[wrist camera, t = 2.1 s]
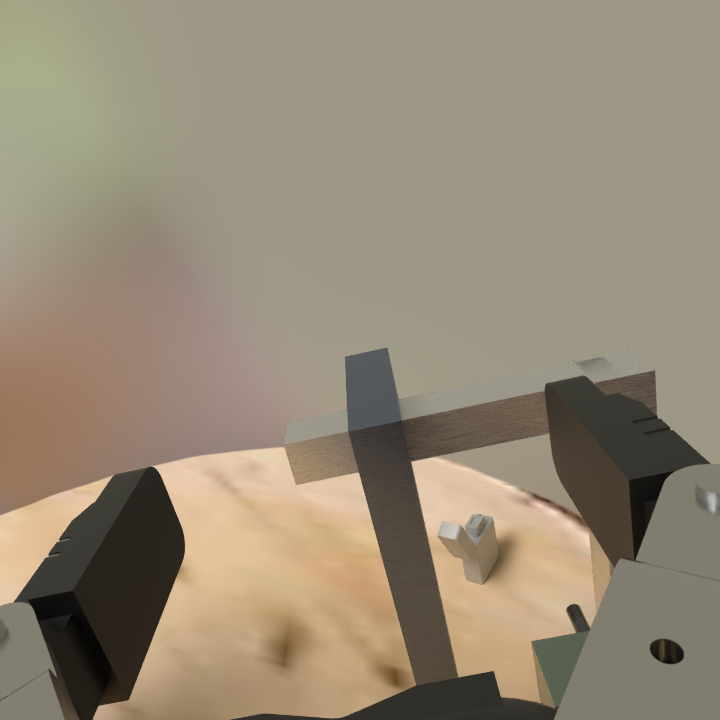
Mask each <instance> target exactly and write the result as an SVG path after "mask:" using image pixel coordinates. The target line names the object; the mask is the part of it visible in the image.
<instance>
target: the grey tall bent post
mask: <svg viewBox="0 0 720 720" xmlns="http://www.w3.org/2000/svg"><path fill="white" fill-rule="evenodd" d="M583 375H585V376H586V377H588V378H589V379H590V380H591V381H592V382H593V383H594V384H595V385H596V386H597V387H598V388H599V389H600V390H601V391H602V392H603V393H604V394H605V395H606V396H608V395H613V394H617V393H619V394H622V395H624V396H627V397H629V398H632V399H635V400H637V401H640V402H642V403H643V404H645V405H646V406H647V407H648V408H649V409H650V410H651V411H652V412H653V413H655V414H656V415H657V403H656V379H655V378H656V377H655V370H654V369H653V368H652V367H650V366H649V365H648V364H646V363H645V362H644V361H643V360H641V359H640V358H639V357H637V356H636V355H635V354H634V353H632V352H631V351H630V350H628V349H627V350H622V351H617V352H613V353H608V354H603V355H598V356H593V357H589V358H584V359H580V360H574V361H573V363H570V364H565V365H560V366H556V367H551V368H546V369H541V370H536V371H532V372H527V373H522V374H517V375H513V376H508V377H503V378H498V379H493V380H489V381H484V382H479V383H474V384H470V385H465V386H460V387H455V388H450V389H446V390H441V391H437V392H432V393H427V394H422V395H417V396H413V397H408V398H403V399H398V402H399V407H400V412H401V417H402V422H403V427H404V431H405V436H406V440H407V445H408V449H409V454H410V458H411V462H412V461H417V460H422V459H427V458H432V457H436V456H441V455H446V454H451V453H455V452H461V451H466V450H471V449H476V448H481V447H486V446H491V445H496V444H500V443H505V442H510V441H515V440H520V439H525V438H530V437H535V436H540V435H545V434H550V433H549V425H548V417H547V409H546V401H545V385H546V383H550V382H554V381H559V380H564V379H569V378H573V377H578V376H583ZM284 447H285V450H286V454H287V457H288V460H289V463H290V467H291V470H292V473H293V477H294V480H295V483H296V485H299V484H303V483H308V482H313V481H318V480H323V479H328V478H333V477H338V476H343V475H348V474H353V473H358V472H359V470H358V467H357V463H356V459H355V455H354V452H353V448H352V444H351V441H350V437H349V433H348V416H347V410H345V411H341V412H336V413H331V414H327V415H322V416H317V417H312V418H307V419H303V420H298V421H293V422H289V423H288V426H287V431H286V436H285V441H284ZM589 537H590V548H591V558H592V569H593V580H594V590H595V601H596V611H598V608H599V606H600V603H601V601H602V598H603V596H604V593H605V591H606V588H607V586H608V584H609V581H610V579H611V576H612V574H613V571H614V567H613V565H612V564H611V562H610V561H609V559H608V557H607V556H606V554H605V553H604V551H603V549H602V548H601V546H600V544H599V543H598V541H597V540H596V538H595V536H594V535H593V533H592V532H591V530H590V528H589ZM566 612H567V614H568V616H569V618H570V620H571V623H572V625H573V627H574V629H575V631H576V633H575V634H569V635H564V636H558V637H553V638H547V639H542V640H536V641H531V642H532V649H533V655H534V662H535V669H536V675H537V682H538V688H539V695H540V699H541V702H542V704H543V705H547V706H550V707H553V708H556V709H558V708H559V706H560V703H561V701H562V698H563V696H564V693H565V691H566V688H567V686H568V683H569V681H570V678H571V676H572V673H573V671H574V668H575V666H576V663H577V661H578V658H579V656H580V653H581V651H582V648H583V646H584V643H585V641H586V638H587V636H588V633H589V631H590V627H589V625H588V623H587V621H586V618H585V616H584V614H583V612H582V610H581V608H580V606H579V605H577V604H572V605H570V606H568V607H567V609H566Z"/></svg>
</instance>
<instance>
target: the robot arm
mask: <svg viewBox="0 0 720 720" xmlns="http://www.w3.org/2000/svg"><path fill="white" fill-rule="evenodd" d="M545 401H546V409H547V417H548V425H549V433H550V441H551V449H552V456H553V461H554V464H555V468H556V471H557V474H558V476H559V479H560V481H561V483H562V485H563V486H564V488H565V489H566V491H567V493H568V494H569V496H570V498H571V499H572V501H573V502H574V504H575V505H576V507H577V509H578V511H579V512H580V514H581V515H582V517H583V519H584V520H585V522H586V523H587V525H588V527H589V528H590V530H591V532H592V533H593V535H594V536H595V538H596V540H597V541H598V543H599V544H600V546H601V548H602V549H603V551H604V553H605V554H606V556H607V557H608V559H609V561H610V562H611V564H612V565H613V567H614V571H613V574H612V576H611V579H610V581H609V584H608V586H607V588H606V591H605V593H604V596H603V598H602V601H601V603H600V606H599V608H598V611H597V613H596V616H595V618H594V621H593V623H592V626H591V628H590V631H589V633H588V636H587V638H586V641H585V643H584V646H583V648H582V651H581V653H580V656H579V658H578V661H577V663H576V666H575V668H574V671H573V673H572V676H571V678H570V681H569V683H568V686H567V688H566V691H565V693H564V696H563V698H562V701H561V703H560V706H559V708H558V709H556V708H553V707H550V706H547V705H543V704H540V703H537V702H532V701H527V700H522V699H516V698H504V697H501V696H500V693H499V689H498V685H497V682H496V678H495V674H494V671H492V672H486V673H481V674H475V675H470V676H465V677H459V678H454V679H448V680H443V681H438V682H432V683H427V684H421V685H417V686H415V687H412V688H410V689H408V690H405V691H403V692H401V693H399V694H396V695H394V696H392V697H389V698H387V699H385V700H382V701H380V702H378V703H376V704H373V705H371V706H369V707H366V708H364V709H362V710H360V711H357V712H355V713H353V714H350V715H348V716H345V717H342V718H333V719H331V718H318V717H304V716H290V715H277V714H259V715H253V716H248V717H242V718H237V719H232V720H720V465H719V464H710V463H709V462H708V461H707V460H706V459H705V458H704V457H702V456H701V455H700V454H699V453H698V452H697V451H696V450H695V449H693V448H692V447H691V446H690V445H689V444H688V443H687V442H686V441H685V440H683V439H682V438H681V437H680V436H679V435H678V434H677V433H676V432H675V431H673V430H670V427H669V426H668V425H667V424H666V423H665V422H663V421H662V420H661V419H658V417H657V415H656V414H655V413H653V412H652V411H651V410H650V409H649V408H648V407H647V406H646V405H645V404H643V403H642V402H640V401H637V400H635V399H632V398H629V397H627V396H624V395H622V394H619V393H617V394H613V395H608V396H606V395H605V394H604V393H603V392H602V391H601V390H600V389H599V388H598V387H597V386H596V385H595V384H594V383H593V382H592V381H591V380H590V379H589V378H588V377H586V376H585V375H583V376H578V377H573V378H569V379H564V380H559V381H554V382H550V383H546V385H545ZM59 540H60V542H57V543H56V544H55V545H54V547H53V548H52V550H51V551H50V552H49V557H47V558H45V559H44V561H43V562H42V564H41V565H40V566H39V568H38V569H37V571H36V572H35V573H34V575H33V576H32V577H31V579H30V580H29V582H28V583H27V584H26V586H25V587H24V589H23V590H22V591H21V593H20V594H19V596H18V597H17V598H16V600H15V601H14V603H9V604H5V605H2V606H0V720H94V719H93V717H94V715H95V712H96V710H97V708H98V706H100V705H105V704H110V703H116V702H121V701H126V700H129V698H130V695H131V693H132V690H133V688H134V685H135V682H136V680H137V677H138V675H139V672H140V669H141V667H142V664H143V662H144V659H145V657H146V654H147V651H148V649H149V646H150V644H151V641H152V639H153V636H154V633H155V631H156V628H157V626H158V623H159V621H160V618H161V615H162V613H163V610H164V608H165V605H166V602H167V600H168V597H169V595H170V592H171V590H172V587H173V584H174V582H175V579H176V577H177V574H178V572H179V569H180V566H181V564H182V561H183V558H184V553H185V540H184V534H183V530H182V527H181V524H180V522H179V519H178V517H177V514H176V512H175V510H174V507H173V505H172V502H171V500H170V497H169V495H168V492H167V490H166V487H165V485H164V482H163V480H162V478H161V475H160V474H159V472H158V471H157V470H156V469H155V468H154V467H147V468H142V469H138V470H133V471H128V472H124V473H119V474H115V475H114V476H113V477H112V478H111V480H110V481H109V483H108V484H107V486H106V487H105V488H104V490H103V491H102V493H101V494H100V496H99V497H98V499H97V500H96V501H95V503H93V504H91V505H90V506H89V507H88V508H87V509H85V510H84V511H83V512H82V513H81V514H80V515H78V516H77V517H76V518H75V519H74V520H72V522H71V523H70V524H69V526H68V527H67V529H66V530H65V531H64V533H63V534H62V536H61V537H60V538H59Z"/></svg>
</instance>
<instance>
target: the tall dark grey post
mask: <svg viewBox="0 0 720 720" xmlns="http://www.w3.org/2000/svg"><path fill="white" fill-rule="evenodd" d="M345 365H346V391H347V416H348V433H349V437H350V441H351V444H352V448H353V452H354V455H355V459H356V463H357V467H358V470H359V474H360V478H361V481H362V485H363V489H364V493H365V496H366V500H367V504H368V507H369V511H370V515H371V519H372V522H373V526H374V530H375V533H376V537H377V541H378V544H379V548H380V552H381V556H382V559H383V563H384V567H385V570H386V574H387V578H388V582H389V585H390V589H391V593H392V596H393V600H394V604H395V608H396V611H397V615H398V619H399V622H400V626H401V630H402V634H403V637H404V641H405V645H406V648H407V652H408V656H409V659H410V663H411V667H412V671H413V674H414V678H415V682H416V685H421V684H427V683H432V682H438V681H443V680H448V679H454V678H458V673H457V669H456V664H455V659H454V655H453V650H452V646H451V641H450V637H449V632H448V627H447V623H446V618H445V614H444V609H443V605H442V600H441V596H440V591H439V586H438V582H437V577H436V573H435V568H434V564H433V559H432V554H431V550H430V545H429V541H428V536H427V532H426V527H425V522H424V518H423V513H422V509H421V504H420V500H419V495H418V490H417V486H416V481H415V477H414V472H413V468H412V463H411V458H410V454H409V449H408V445H407V440H406V436H405V431H404V427H403V422H402V417H401V412H400V407H399V402H398V395H397V391H396V386H395V381H394V377H393V372H392V367H391V363H390V358H389V354H388V349H387V348H384V349H379V350H375V351H370V352H365V353H361V354H356V355H351V356H347V357H345Z"/></svg>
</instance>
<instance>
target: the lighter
mask: <svg viewBox="0 0 720 720" xmlns="http://www.w3.org/2000/svg"><path fill="white" fill-rule="evenodd" d="M465 529H466V531H465V530H464V529H463V527H462V526H461V525H459V524H454V523H450V522H445V521H443V522H442V525H441V528H440V531H439V534H438V537H439V539H440V540H441V541H442V543H443V544H444V545H445V546H446V548H447V549H448V550H449V552H450V553H451V554H452V555H453V556H454V557H458V558H461V559H462V561H463V566H464V571H465V577H466V580H467V581H470V582H474V583H477V584H484V582H485V581H486V579H487V577H488V575H489V573H490V572H491V570H492V568H493V566H494V564H495V562H496V561H497V559H498V557H499V551H498V545H497V539H496V533H495V527H494V521H493V518H492V517H489V516H484V515H481V514H477V515H472V516H471V518H470V519H469V521H468V522H467V524H466V525H465Z"/></svg>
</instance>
